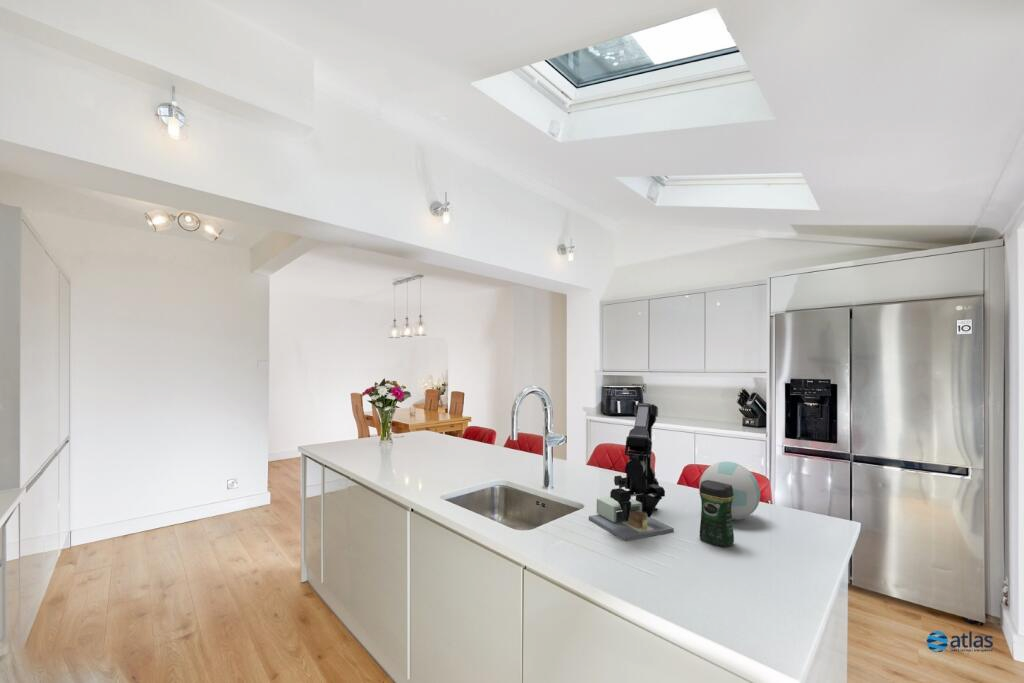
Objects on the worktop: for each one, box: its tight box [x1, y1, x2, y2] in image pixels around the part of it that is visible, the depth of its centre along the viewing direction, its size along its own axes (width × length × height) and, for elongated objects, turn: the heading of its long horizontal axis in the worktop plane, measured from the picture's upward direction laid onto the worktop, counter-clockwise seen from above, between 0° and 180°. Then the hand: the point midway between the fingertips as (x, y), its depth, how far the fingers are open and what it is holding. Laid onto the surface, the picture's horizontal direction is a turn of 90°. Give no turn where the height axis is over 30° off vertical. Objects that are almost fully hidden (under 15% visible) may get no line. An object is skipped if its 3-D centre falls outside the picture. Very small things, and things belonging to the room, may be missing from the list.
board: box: [588, 510, 675, 542], centre depth 155 cm, size 20×20×4 cm
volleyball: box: [698, 461, 761, 521], centre depth 165 cm, size 20×20×20 cm
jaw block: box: [629, 511, 647, 528], centre depth 152 cm, size 4×4×4 cm
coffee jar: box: [698, 480, 735, 547], centre depth 143 cm, size 10×8×19 cm
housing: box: [596, 496, 643, 522], centre depth 163 cm, size 12×14×5 cm
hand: (637, 518), depth 152 cm, fingers open, 9 cm apart
